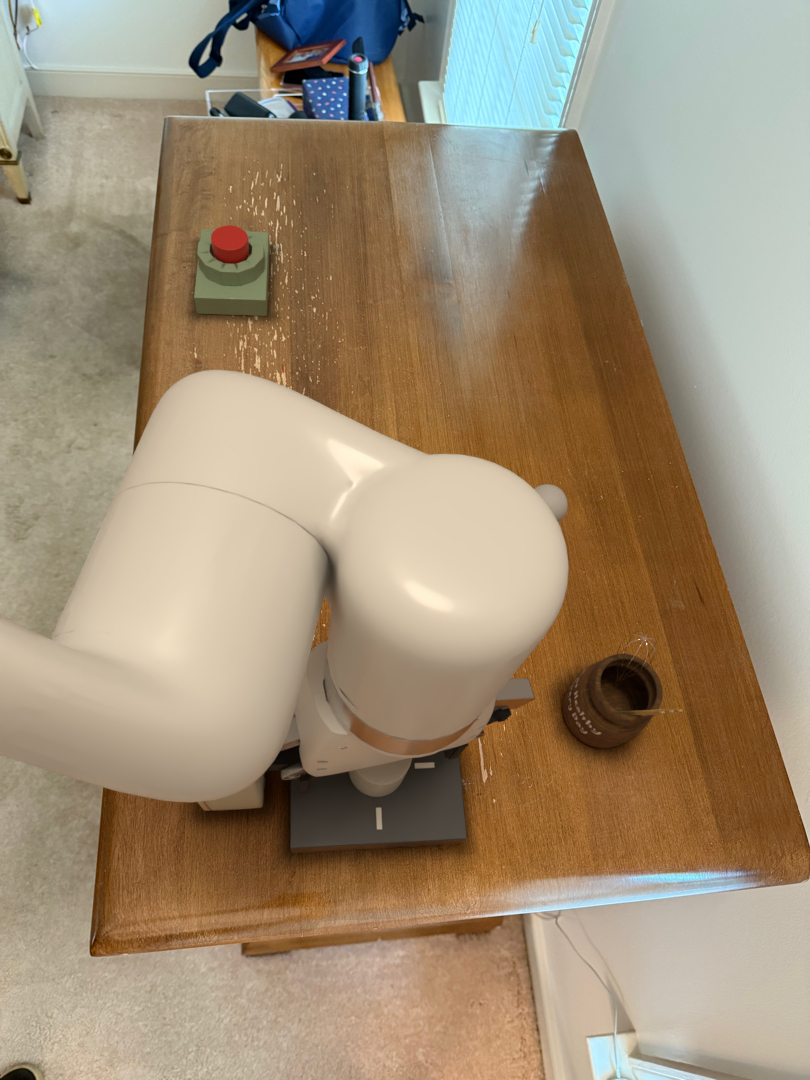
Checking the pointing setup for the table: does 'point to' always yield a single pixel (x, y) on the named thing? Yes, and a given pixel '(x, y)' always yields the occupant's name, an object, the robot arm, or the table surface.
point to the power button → (230, 244)
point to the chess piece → (554, 499)
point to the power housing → (233, 279)
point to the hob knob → (380, 777)
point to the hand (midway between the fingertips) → (374, 751)
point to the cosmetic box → (239, 798)
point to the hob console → (381, 811)
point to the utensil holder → (613, 699)
